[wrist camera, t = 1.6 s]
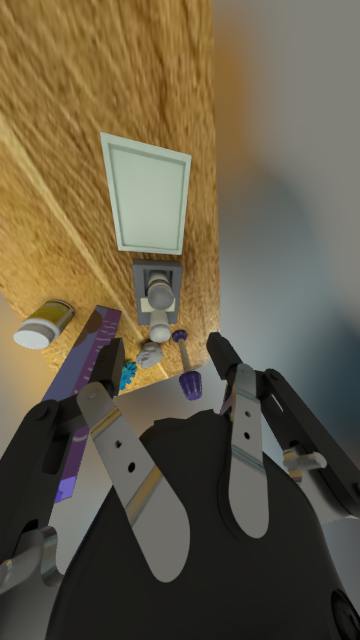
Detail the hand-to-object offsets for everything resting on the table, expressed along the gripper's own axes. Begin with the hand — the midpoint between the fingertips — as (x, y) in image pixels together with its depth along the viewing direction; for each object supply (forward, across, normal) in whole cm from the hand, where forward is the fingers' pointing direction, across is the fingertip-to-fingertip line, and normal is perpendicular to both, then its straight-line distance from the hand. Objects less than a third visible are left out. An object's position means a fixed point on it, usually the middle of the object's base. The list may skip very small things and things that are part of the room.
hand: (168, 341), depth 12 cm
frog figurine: (+18, +2, +19) cm, 26 cm away
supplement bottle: (+18, +19, +7) cm, 27 cm away
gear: (+18, +10, +28) cm, 35 cm away
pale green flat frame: (+18, +1, -10) cm, 20 cm away
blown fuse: (+17, 0, 0) cm, 17 cm away
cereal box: (+18, +13, +15) cm, 27 cm away
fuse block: (+18, 0, +3) cm, 18 cm away
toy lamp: (+18, -6, +16) cm, 25 cm away
